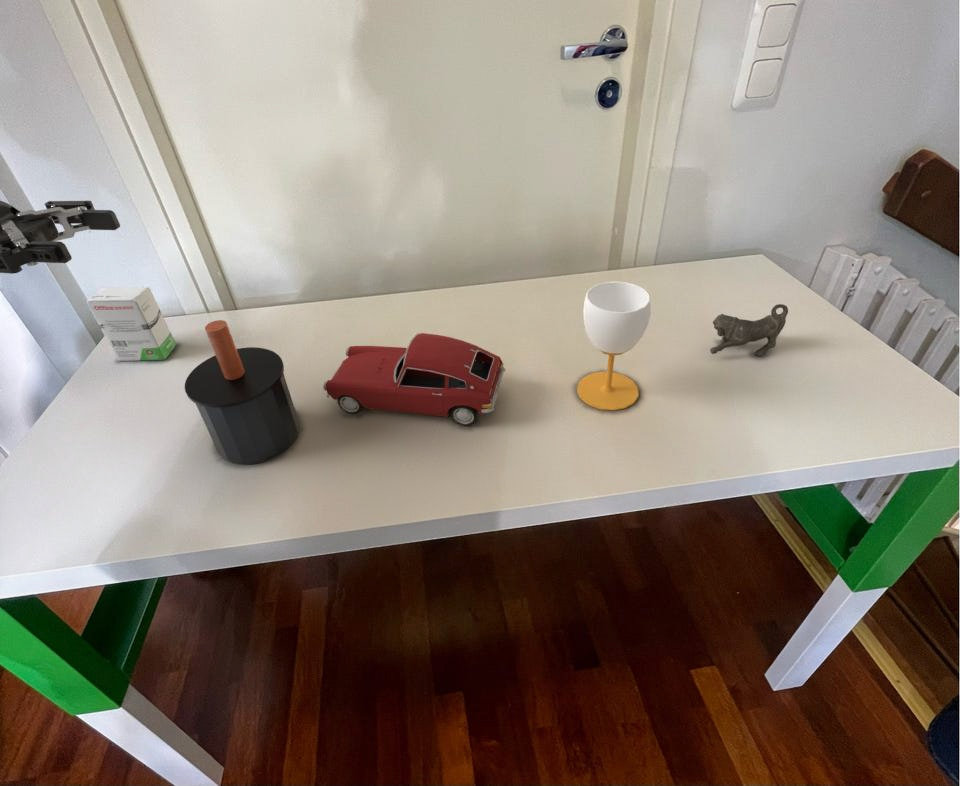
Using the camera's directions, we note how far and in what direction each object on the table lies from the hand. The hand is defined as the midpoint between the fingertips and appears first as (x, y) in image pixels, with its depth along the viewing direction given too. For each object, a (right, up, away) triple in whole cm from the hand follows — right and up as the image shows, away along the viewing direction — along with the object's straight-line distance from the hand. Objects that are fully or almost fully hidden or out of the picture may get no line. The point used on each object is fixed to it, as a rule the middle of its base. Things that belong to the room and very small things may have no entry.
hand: (92, 235), depth 67 cm
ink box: (-13, -11, +35) cm, 39 cm away
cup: (+63, -18, +21) cm, 69 cm away
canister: (+12, -24, +17) cm, 32 cm away
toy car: (+35, -19, +22) cm, 45 cm away
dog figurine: (+86, -11, +28) cm, 91 cm away
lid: (+12, -16, +11) cm, 22 cm away
